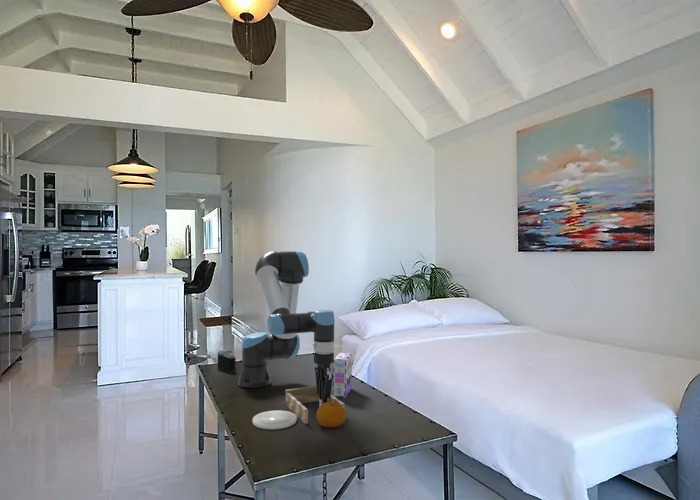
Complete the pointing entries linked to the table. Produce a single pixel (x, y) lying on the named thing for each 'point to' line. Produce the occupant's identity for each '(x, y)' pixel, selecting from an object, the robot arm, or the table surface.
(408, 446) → the table surface
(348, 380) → the candy box
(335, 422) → the fruit
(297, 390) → the oak open frame
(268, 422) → the plate
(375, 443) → the table surface
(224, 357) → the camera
